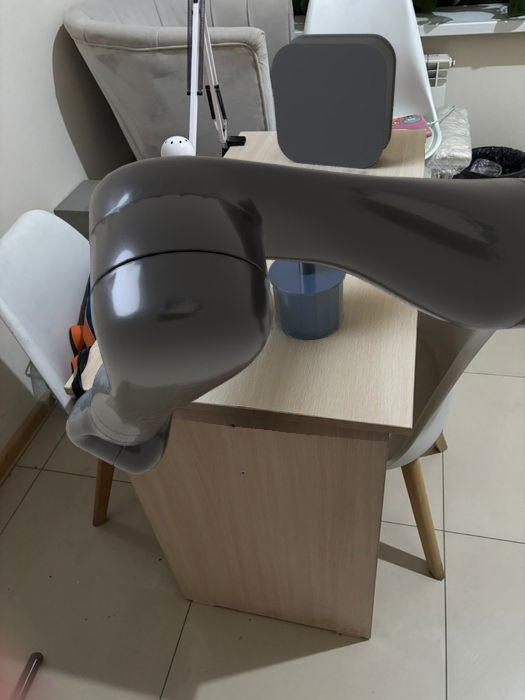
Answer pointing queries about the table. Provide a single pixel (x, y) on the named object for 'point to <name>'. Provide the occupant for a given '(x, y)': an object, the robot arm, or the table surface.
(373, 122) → the speaker
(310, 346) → the table surface
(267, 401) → the table surface
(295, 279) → the pot lid
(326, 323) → the pot
